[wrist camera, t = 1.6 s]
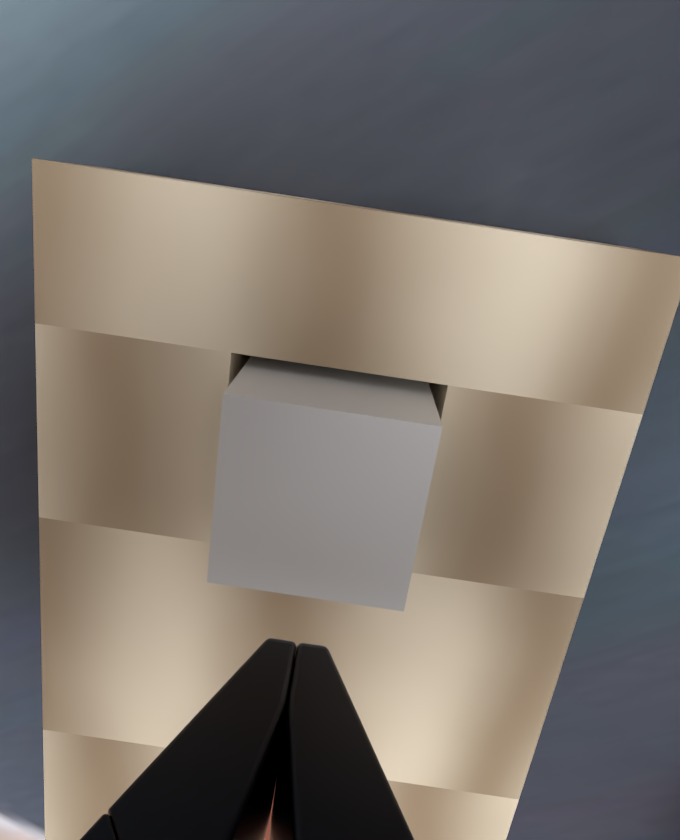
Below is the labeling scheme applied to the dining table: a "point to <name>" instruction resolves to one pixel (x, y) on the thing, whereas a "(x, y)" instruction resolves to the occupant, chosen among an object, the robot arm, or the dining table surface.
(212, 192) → the console
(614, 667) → the dining table surface
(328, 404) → the button grey
